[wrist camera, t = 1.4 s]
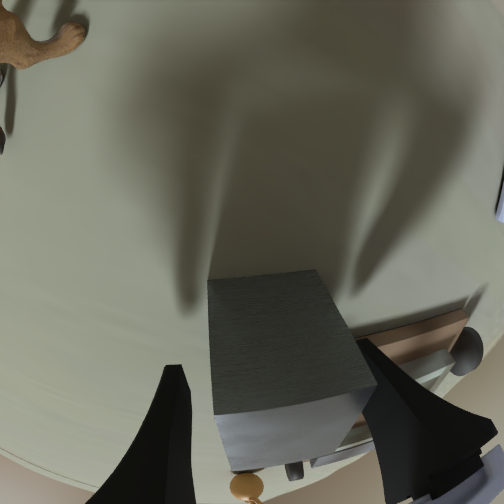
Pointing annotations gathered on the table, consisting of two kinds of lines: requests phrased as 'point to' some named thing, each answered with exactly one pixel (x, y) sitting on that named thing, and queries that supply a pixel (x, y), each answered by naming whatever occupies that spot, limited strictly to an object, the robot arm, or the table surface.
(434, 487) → the robot arm
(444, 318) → the toy car chassis
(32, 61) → the lion figurine
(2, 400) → the table surface
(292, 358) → the brushed grey box
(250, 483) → the figurine
